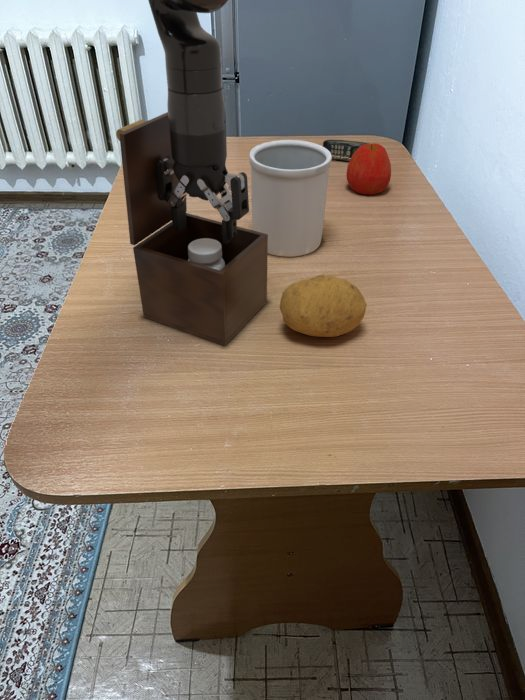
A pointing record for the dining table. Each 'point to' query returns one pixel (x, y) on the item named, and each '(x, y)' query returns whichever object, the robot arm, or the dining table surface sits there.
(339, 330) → the potato
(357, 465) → the dining table surface
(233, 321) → the chest
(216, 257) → the pill bottle
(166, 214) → the lid
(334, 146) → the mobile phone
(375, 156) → the apple
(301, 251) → the utensil holder
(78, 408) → the dining table surface
